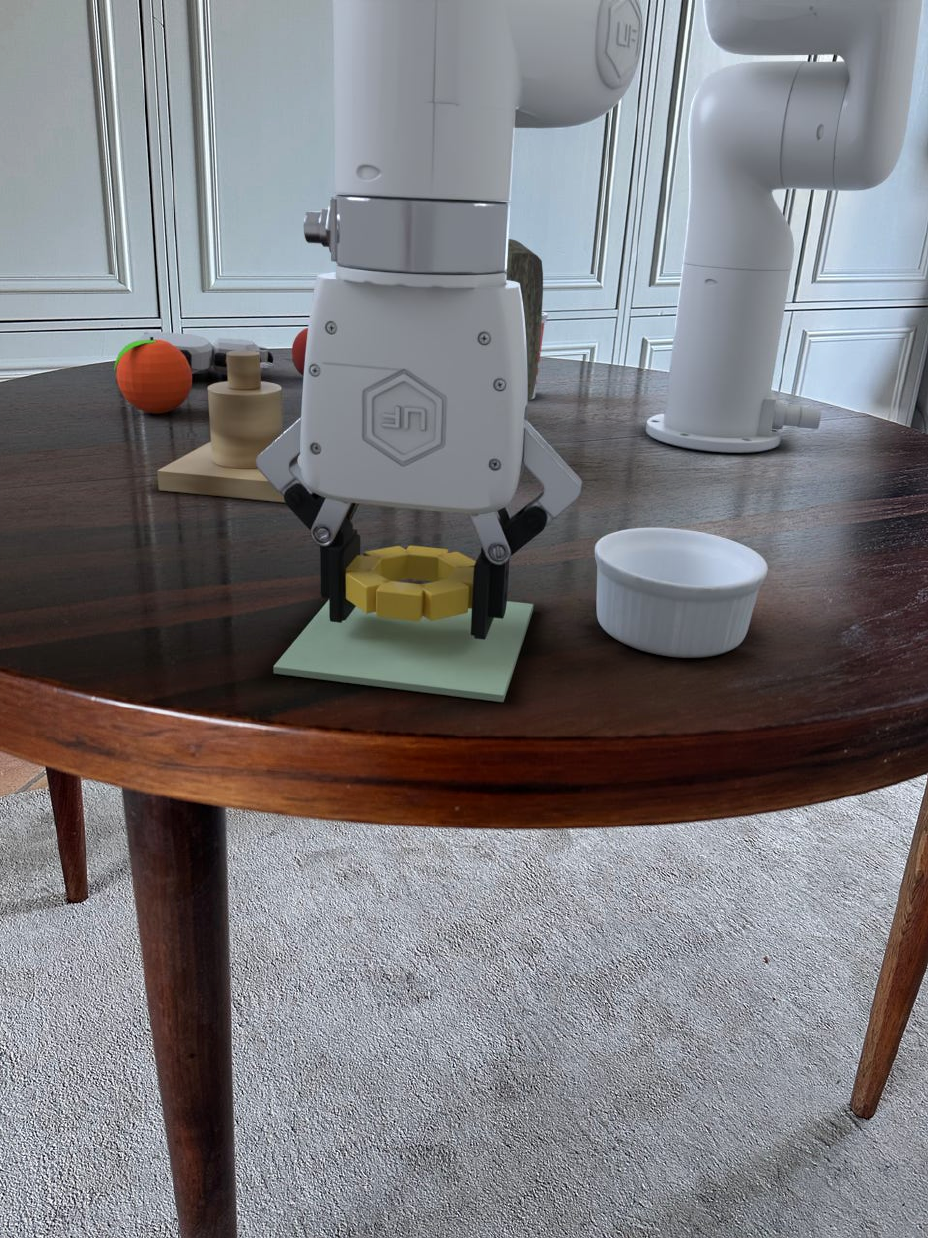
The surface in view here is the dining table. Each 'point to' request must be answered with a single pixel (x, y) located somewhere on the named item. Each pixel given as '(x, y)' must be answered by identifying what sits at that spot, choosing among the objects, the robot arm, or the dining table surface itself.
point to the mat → (411, 652)
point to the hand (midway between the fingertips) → (413, 617)
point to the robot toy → (210, 351)
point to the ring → (407, 601)
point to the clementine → (153, 375)
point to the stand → (233, 437)
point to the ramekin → (676, 590)
